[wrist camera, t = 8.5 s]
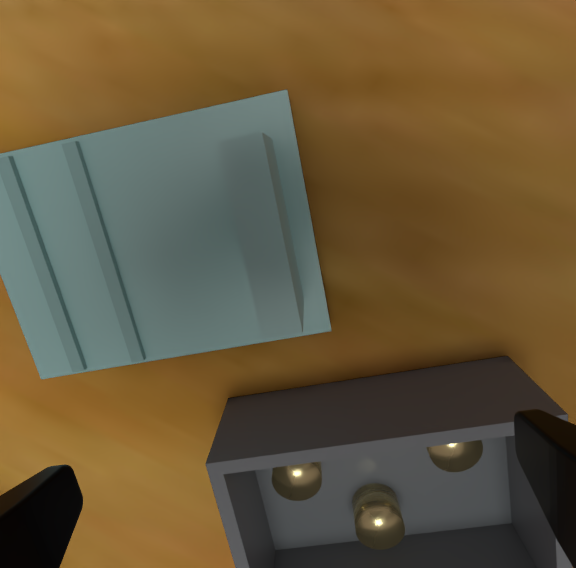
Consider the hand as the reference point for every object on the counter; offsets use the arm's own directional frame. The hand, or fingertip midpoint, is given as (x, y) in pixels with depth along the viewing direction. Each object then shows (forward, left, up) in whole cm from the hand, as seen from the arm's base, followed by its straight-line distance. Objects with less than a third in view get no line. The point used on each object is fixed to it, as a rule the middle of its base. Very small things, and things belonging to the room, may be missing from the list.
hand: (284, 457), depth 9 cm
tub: (-2, +10, -12) cm, 16 cm away
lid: (+6, -3, -12) cm, 14 cm away
